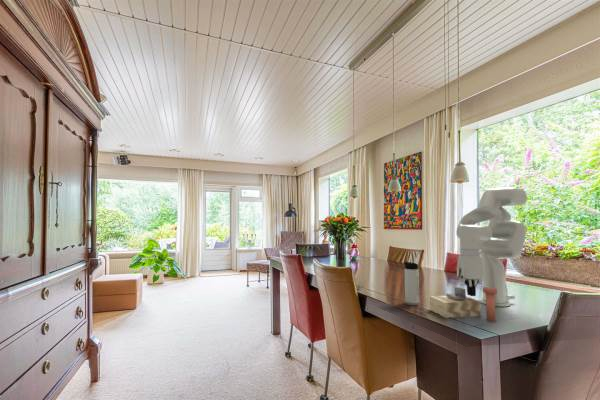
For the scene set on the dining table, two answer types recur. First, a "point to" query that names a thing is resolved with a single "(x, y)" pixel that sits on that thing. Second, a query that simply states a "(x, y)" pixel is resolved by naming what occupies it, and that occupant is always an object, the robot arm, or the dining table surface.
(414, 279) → the travel mug
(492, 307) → the pin
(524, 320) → the dining table surface
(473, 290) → the robot arm
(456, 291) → the keeper
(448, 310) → the block
